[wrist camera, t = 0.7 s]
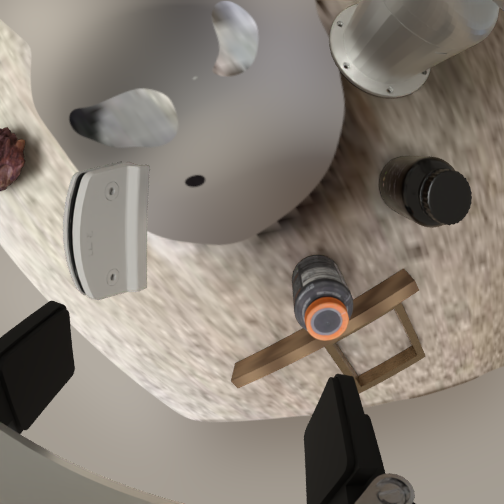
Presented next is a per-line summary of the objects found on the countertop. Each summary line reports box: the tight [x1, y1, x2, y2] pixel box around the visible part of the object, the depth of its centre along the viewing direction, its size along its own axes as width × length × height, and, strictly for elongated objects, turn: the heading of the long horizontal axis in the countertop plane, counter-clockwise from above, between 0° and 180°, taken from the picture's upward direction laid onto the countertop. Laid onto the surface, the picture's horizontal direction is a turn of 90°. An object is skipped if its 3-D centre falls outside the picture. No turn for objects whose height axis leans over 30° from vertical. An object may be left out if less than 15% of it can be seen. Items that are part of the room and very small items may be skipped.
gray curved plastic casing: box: [63, 162, 150, 300], centre depth 35 cm, size 17×5×10 cm, turn 174°
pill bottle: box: [292, 255, 353, 341], centre depth 33 cm, size 6×6×11 cm
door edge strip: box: [231, 269, 419, 388], centre depth 39 cm, size 26×2×4 cm, turn 125°
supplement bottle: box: [379, 156, 472, 228], centre depth 28 cm, size 7×7×12 cm
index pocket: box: [324, 302, 425, 393], centre depth 39 cm, size 11×11×2 cm
